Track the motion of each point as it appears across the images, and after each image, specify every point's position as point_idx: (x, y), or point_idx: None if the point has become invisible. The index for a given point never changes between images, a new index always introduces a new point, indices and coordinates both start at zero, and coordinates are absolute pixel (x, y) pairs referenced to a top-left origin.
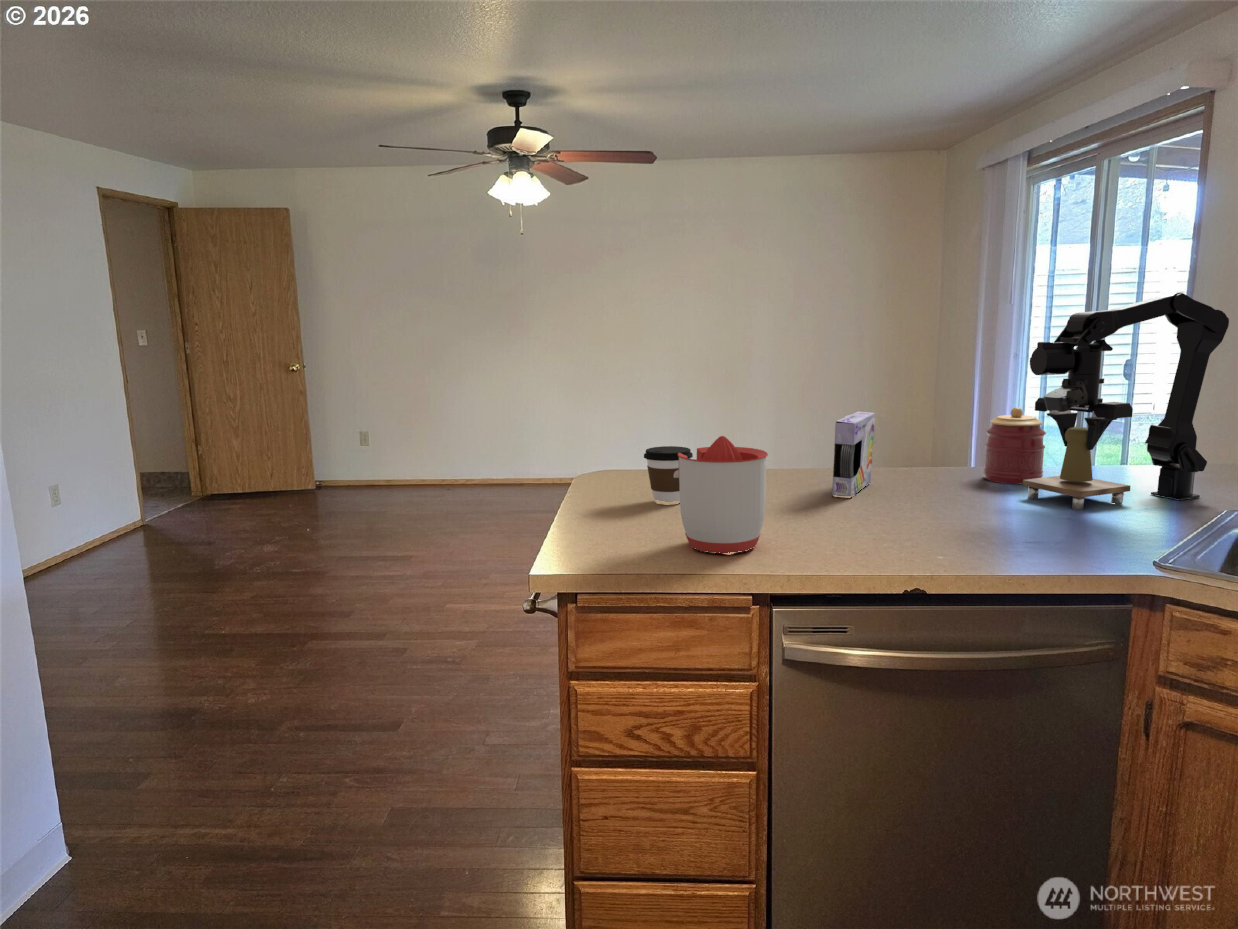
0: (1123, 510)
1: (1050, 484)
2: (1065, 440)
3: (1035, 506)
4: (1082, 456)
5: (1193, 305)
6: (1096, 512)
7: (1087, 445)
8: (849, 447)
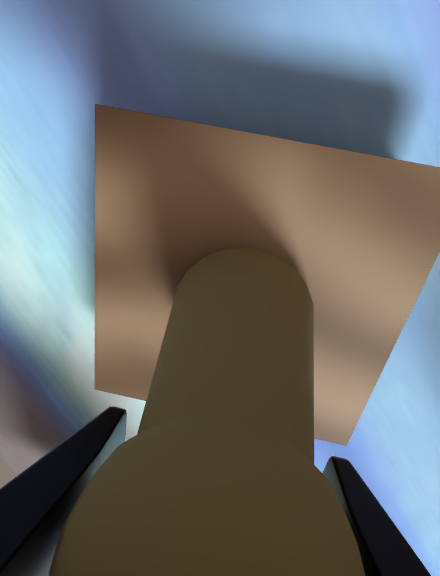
0: (76, 261)
1: (297, 170)
2: (349, 501)
3: (297, 38)
4: (165, 356)
5: None
6: (94, 156)
7: (107, 432)
8: None
